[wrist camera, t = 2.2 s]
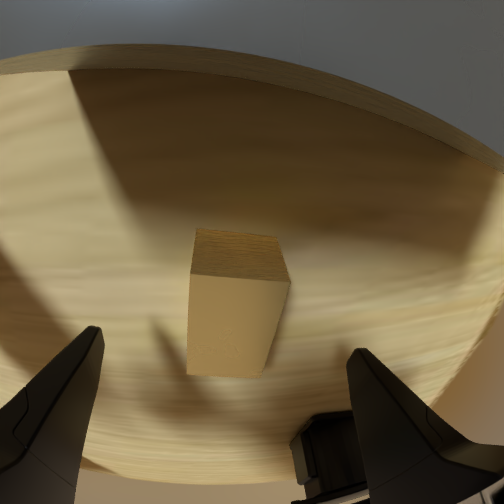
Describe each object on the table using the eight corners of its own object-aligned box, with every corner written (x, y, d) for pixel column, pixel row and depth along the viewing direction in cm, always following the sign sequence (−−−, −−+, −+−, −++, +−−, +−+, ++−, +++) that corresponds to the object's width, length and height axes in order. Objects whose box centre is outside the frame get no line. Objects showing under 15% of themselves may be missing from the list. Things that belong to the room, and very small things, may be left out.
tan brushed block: (275, 234, 12) (290, 282, 9) (253, 327, 14) (260, 377, 12) (196, 226, 11) (190, 273, 9) (190, 322, 14) (186, 374, 11)
